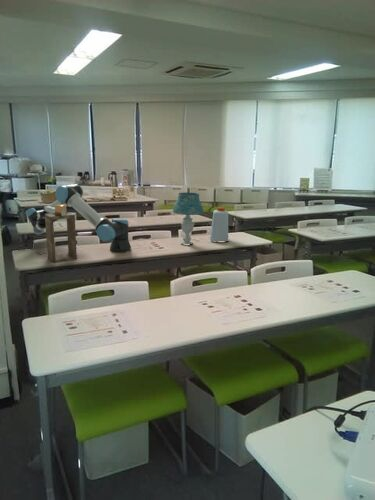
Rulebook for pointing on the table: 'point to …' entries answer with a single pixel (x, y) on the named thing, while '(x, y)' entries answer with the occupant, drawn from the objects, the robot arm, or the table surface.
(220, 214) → the plastic bottle
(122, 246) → the robot arm
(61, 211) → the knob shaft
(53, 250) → the stand
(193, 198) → the table lamp
